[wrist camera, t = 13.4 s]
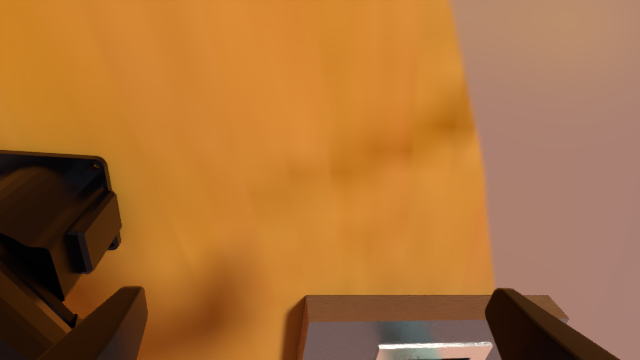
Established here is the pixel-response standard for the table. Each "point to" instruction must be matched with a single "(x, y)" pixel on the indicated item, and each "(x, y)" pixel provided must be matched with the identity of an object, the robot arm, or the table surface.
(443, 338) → the flange plate
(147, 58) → the table surface
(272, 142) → the table surface
